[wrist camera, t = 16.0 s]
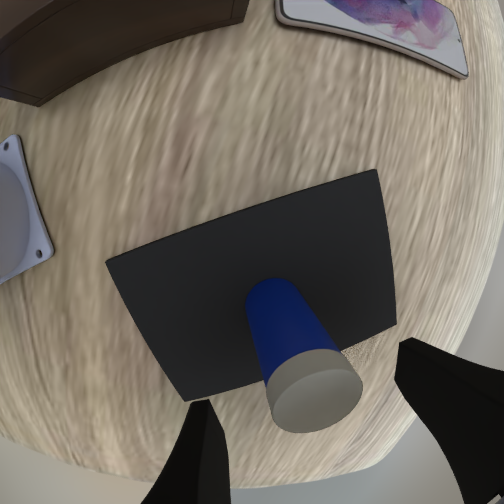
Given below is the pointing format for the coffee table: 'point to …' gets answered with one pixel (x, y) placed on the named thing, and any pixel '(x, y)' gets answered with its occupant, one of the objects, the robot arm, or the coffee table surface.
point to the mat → (260, 280)
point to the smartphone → (387, 26)
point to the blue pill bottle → (299, 360)
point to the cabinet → (91, 37)
